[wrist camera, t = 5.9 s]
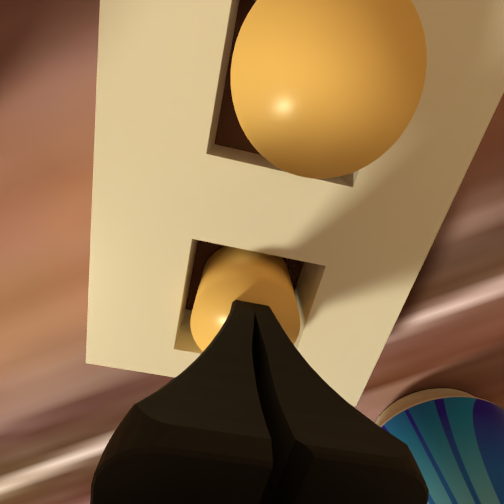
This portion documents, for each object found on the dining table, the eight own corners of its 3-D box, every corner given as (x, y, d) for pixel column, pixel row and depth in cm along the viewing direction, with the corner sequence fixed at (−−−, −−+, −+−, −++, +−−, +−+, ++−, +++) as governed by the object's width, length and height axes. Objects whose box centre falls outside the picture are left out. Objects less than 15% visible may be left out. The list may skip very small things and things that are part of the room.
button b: (224, 142, 11) (214, 157, 8) (252, -12, 9) (254, -71, 6) (345, 170, 11) (383, 195, 8) (392, 28, 9) (462, -9, 6)
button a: (195, 310, 16) (182, 359, 13) (209, 232, 14) (200, 266, 11) (277, 325, 16) (284, 376, 13) (300, 251, 15) (314, 288, 12)
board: (112, 321, 17) (85, 362, 14) (175, -544, 8) (135, -908, 5) (339, 360, 18) (355, 406, 15) (632, -346, 9) (806, -550, 6)
